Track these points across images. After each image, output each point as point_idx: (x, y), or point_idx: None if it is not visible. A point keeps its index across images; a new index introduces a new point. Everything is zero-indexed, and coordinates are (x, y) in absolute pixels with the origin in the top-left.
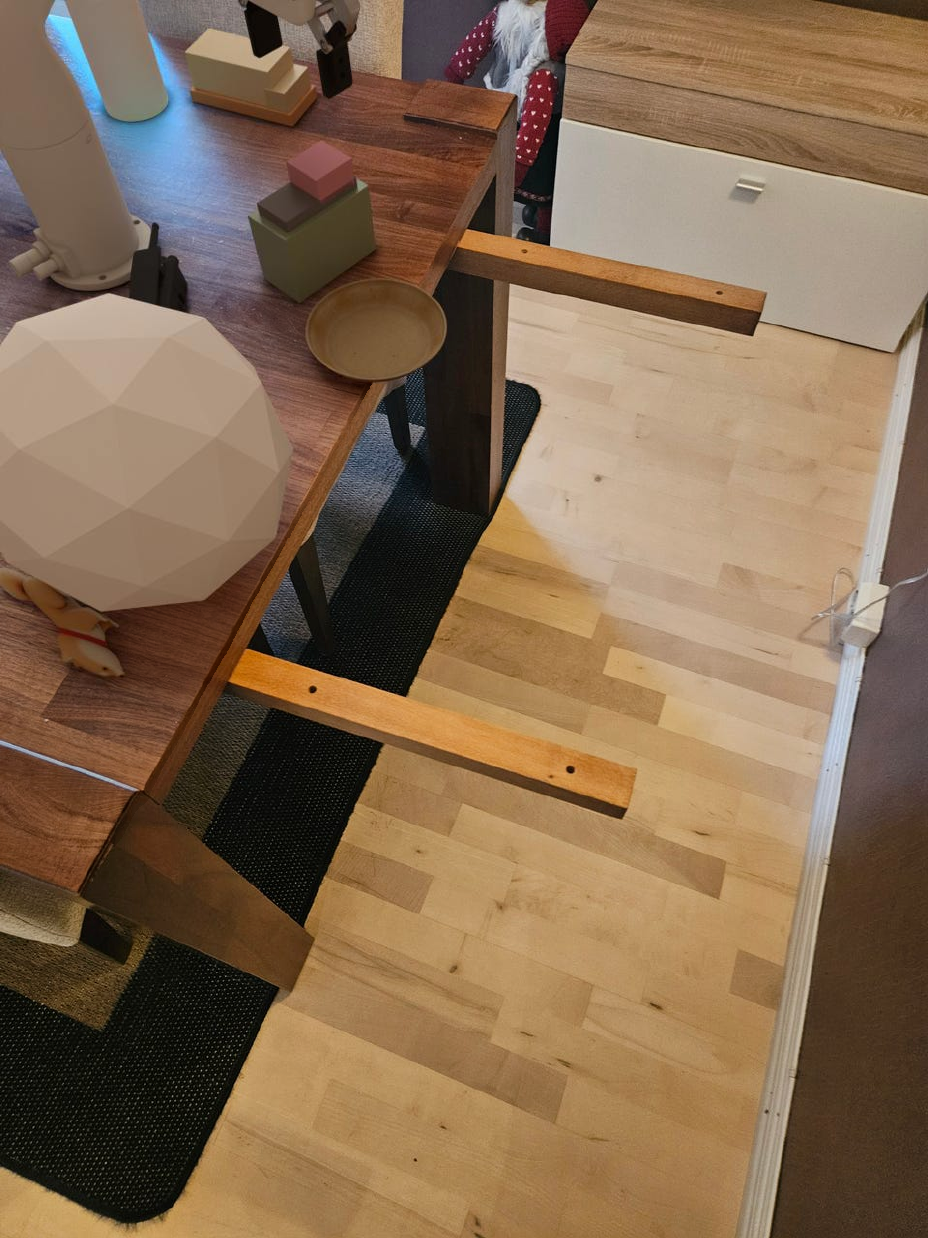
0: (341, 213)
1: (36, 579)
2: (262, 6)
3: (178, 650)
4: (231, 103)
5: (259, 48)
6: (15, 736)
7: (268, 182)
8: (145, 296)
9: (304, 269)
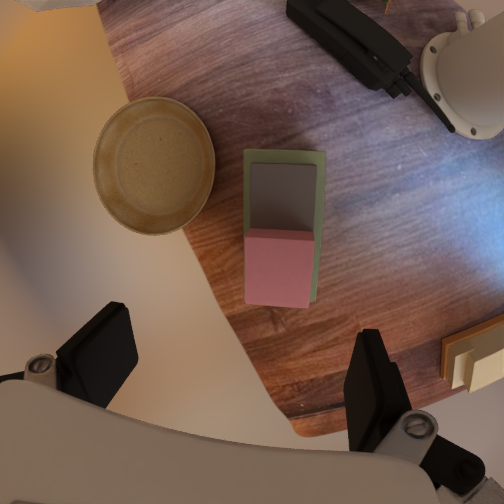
0: None
1: None
2: (174, 437)
3: None
4: (496, 321)
5: (359, 346)
6: None
7: (420, 269)
8: (341, 14)
9: None
